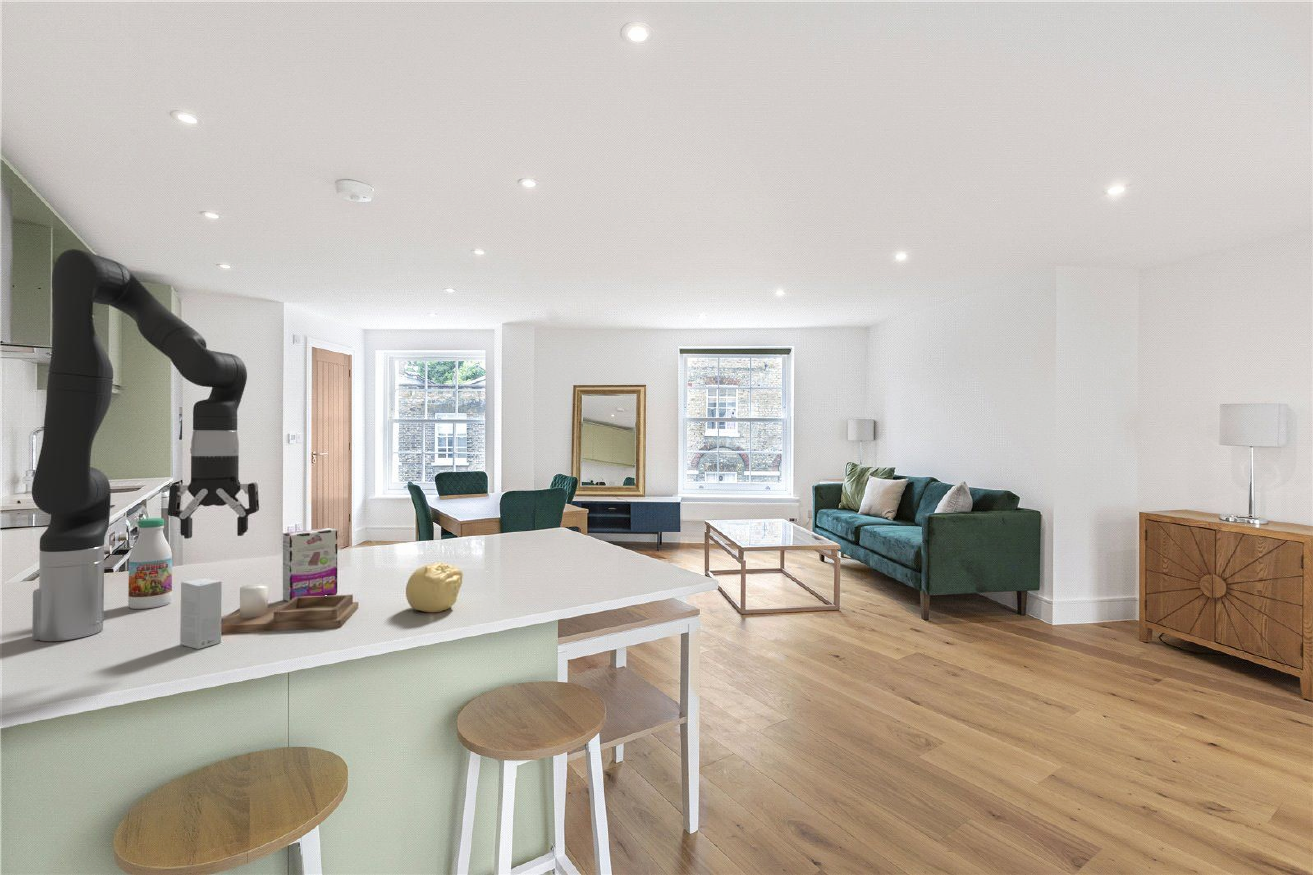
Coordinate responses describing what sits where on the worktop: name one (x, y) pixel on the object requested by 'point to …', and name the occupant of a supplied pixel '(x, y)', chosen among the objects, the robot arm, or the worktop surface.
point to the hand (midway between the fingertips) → (214, 536)
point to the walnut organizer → (287, 612)
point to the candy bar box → (309, 563)
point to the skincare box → (200, 613)
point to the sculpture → (434, 587)
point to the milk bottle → (150, 567)
